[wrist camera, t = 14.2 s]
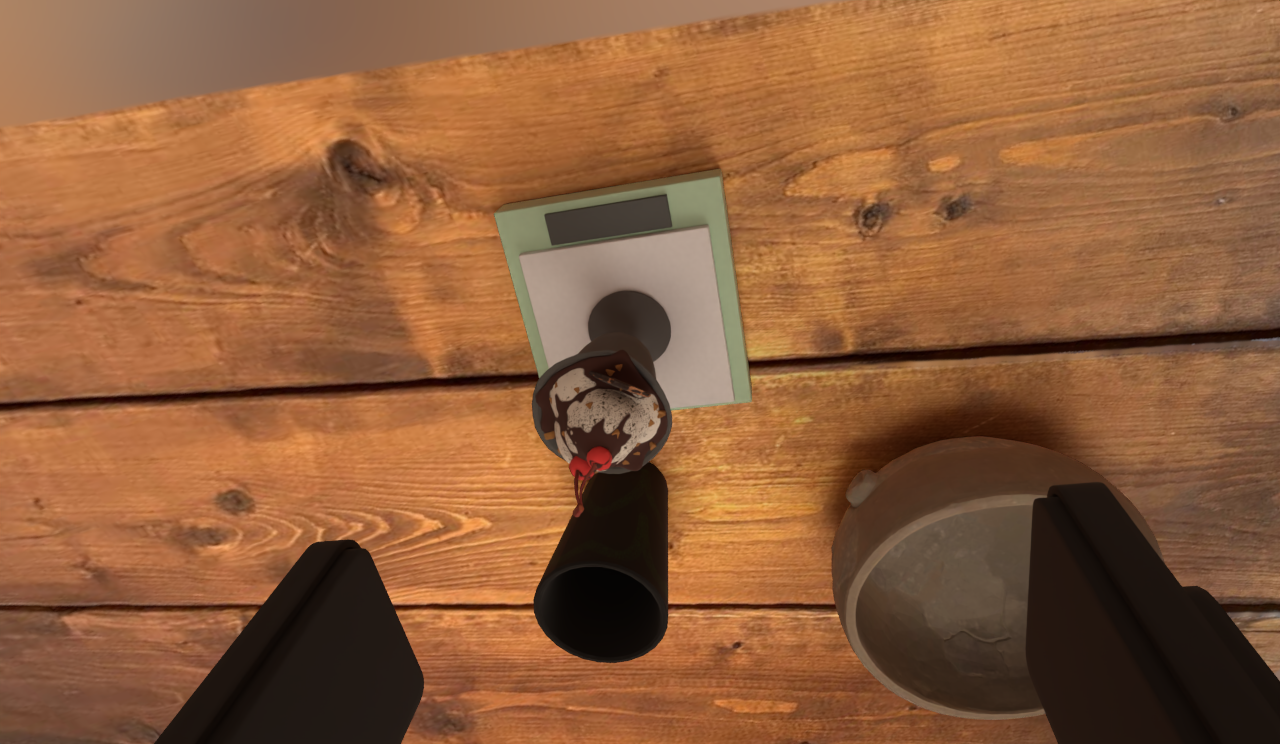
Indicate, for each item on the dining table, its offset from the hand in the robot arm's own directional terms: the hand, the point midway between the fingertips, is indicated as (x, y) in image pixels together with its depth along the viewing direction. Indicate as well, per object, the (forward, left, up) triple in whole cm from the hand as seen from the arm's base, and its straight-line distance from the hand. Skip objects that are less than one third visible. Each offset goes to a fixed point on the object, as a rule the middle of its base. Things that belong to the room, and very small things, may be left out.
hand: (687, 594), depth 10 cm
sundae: (+9, -7, -32) cm, 34 cm away
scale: (+8, -7, -34) cm, 36 cm away
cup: (+22, -10, -34) cm, 42 cm away
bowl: (+26, +12, -34) cm, 45 cm away
